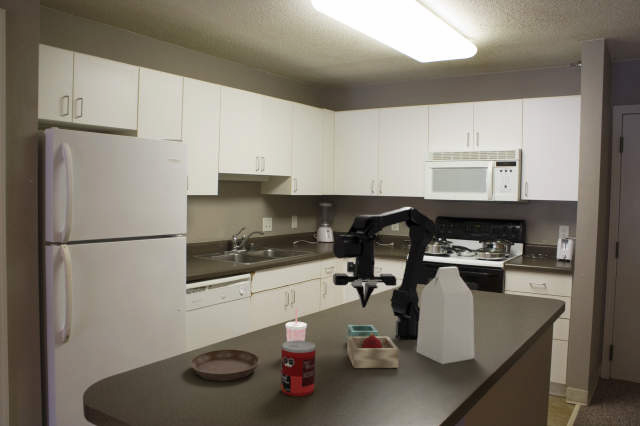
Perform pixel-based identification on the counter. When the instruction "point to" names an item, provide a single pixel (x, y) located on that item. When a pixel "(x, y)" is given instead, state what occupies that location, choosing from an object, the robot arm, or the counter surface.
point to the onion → (372, 342)
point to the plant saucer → (224, 364)
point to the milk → (446, 318)
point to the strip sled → (370, 349)
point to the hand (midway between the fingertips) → (363, 307)
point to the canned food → (298, 368)
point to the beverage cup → (296, 330)
